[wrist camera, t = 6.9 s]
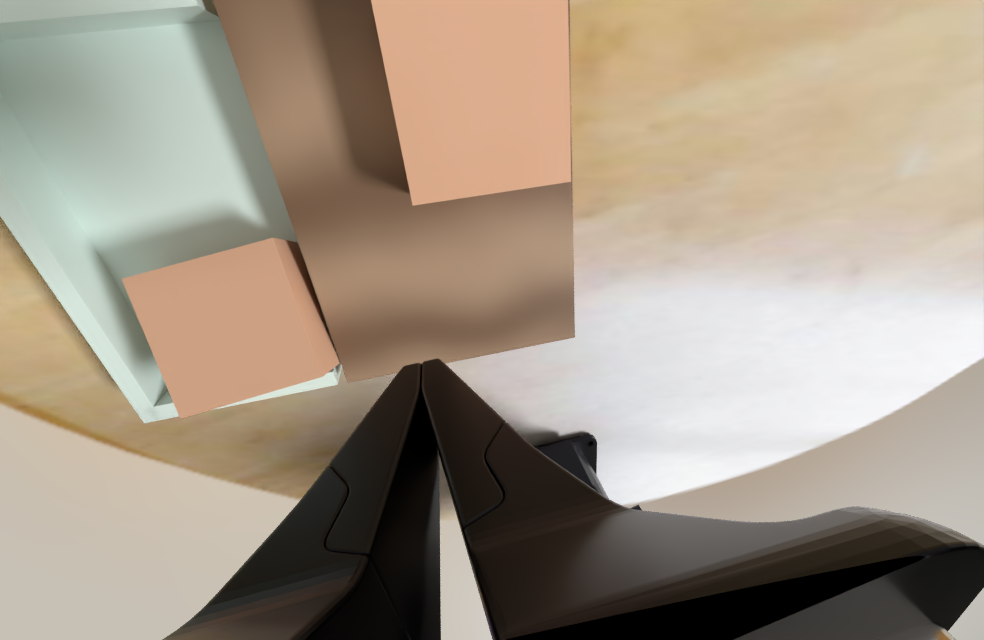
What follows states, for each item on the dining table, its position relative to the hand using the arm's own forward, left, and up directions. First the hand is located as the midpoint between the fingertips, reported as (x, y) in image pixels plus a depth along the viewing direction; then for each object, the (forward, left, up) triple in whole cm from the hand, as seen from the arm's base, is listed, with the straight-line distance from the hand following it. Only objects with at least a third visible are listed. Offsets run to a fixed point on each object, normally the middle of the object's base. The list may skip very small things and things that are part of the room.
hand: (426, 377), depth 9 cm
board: (+2, -1, -12) cm, 12 cm away
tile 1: (+6, -3, -10) cm, 12 cm away
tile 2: (-2, +8, -10) cm, 13 cm away
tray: (+2, +10, -12) cm, 16 cm away
